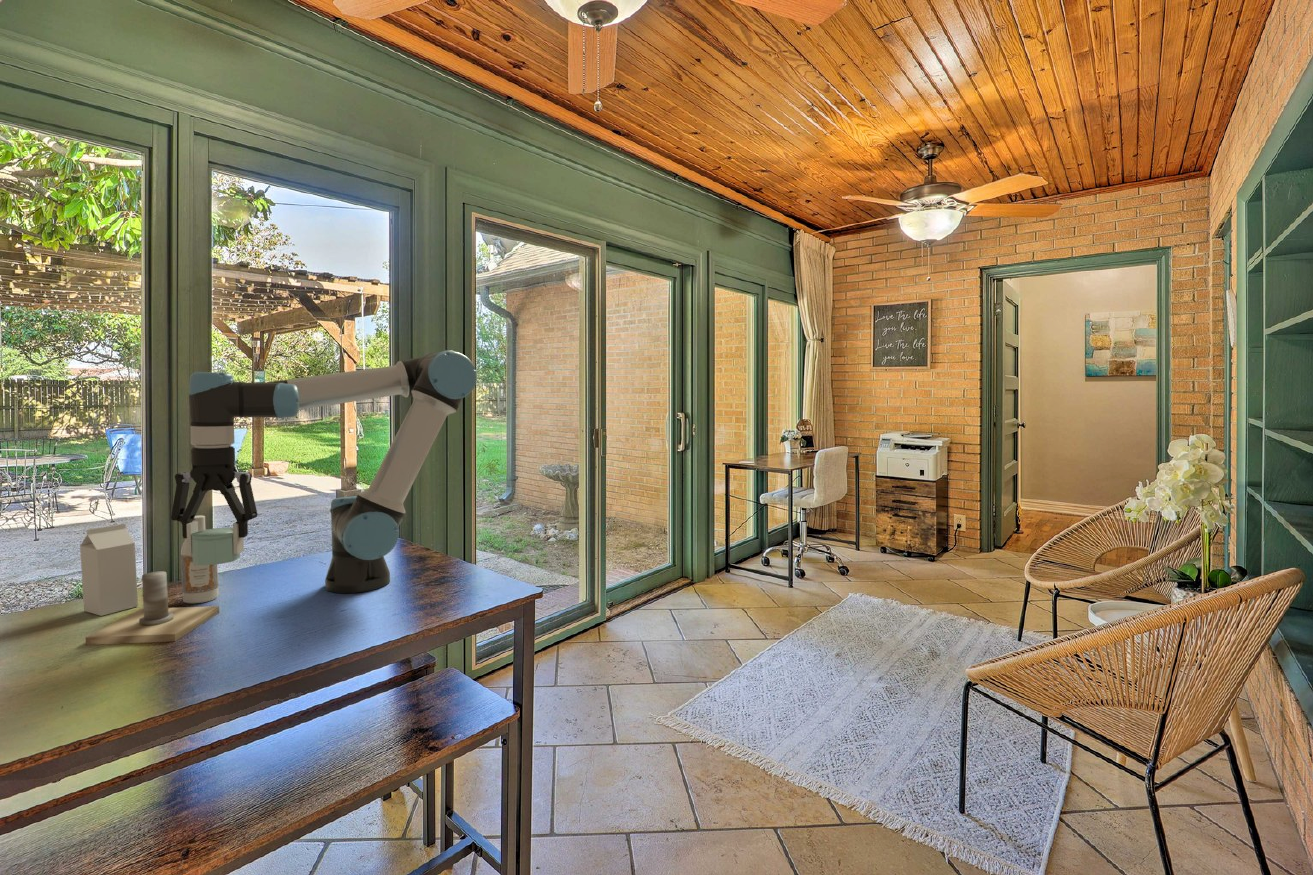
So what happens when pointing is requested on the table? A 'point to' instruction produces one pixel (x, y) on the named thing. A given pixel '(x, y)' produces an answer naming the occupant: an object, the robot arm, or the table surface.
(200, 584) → the bath foam
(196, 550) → the cap
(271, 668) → the table surface
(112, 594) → the milk carton
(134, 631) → the stud board
